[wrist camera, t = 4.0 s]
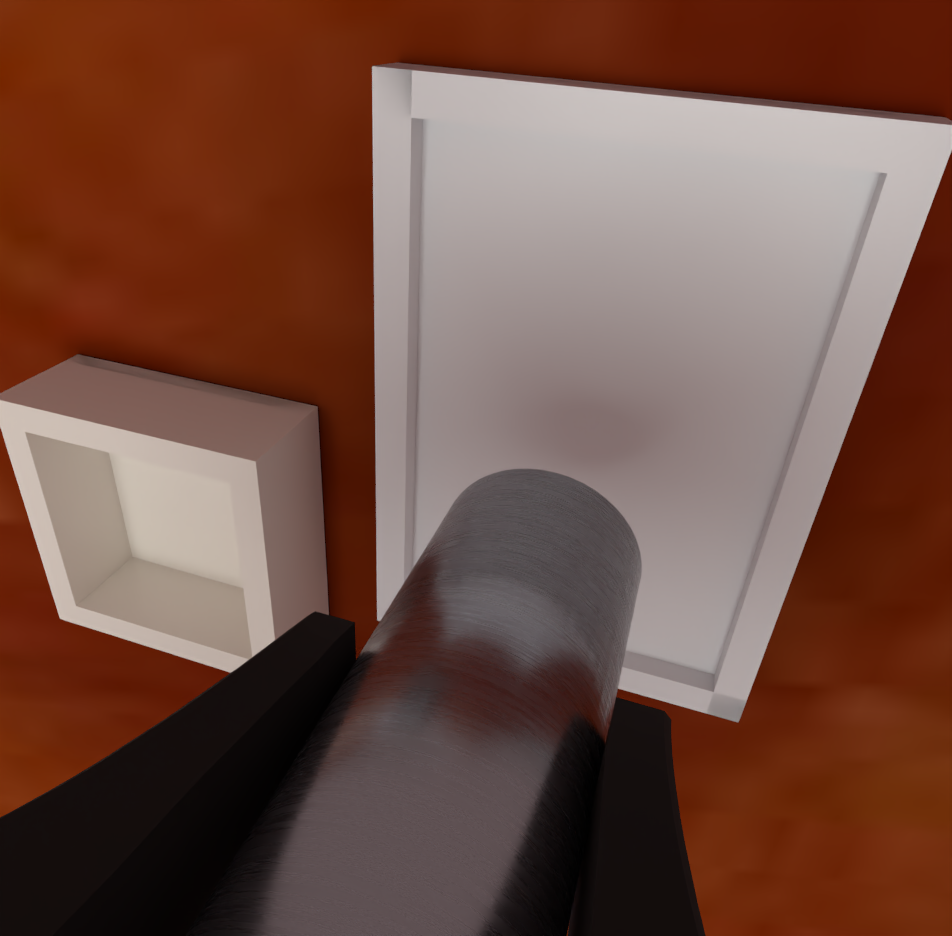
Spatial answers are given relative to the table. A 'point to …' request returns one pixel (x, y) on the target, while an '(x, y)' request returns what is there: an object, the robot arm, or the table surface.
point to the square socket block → (171, 506)
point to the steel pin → (456, 735)
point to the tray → (636, 326)
